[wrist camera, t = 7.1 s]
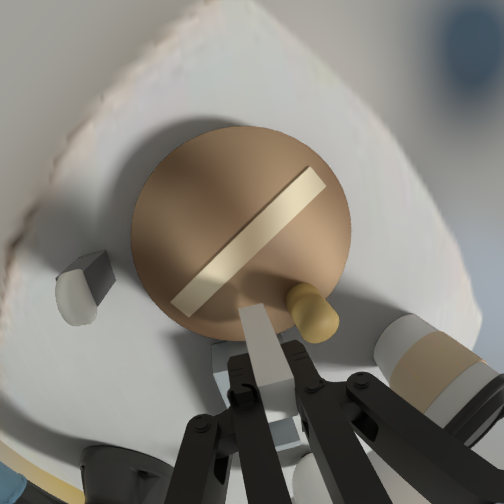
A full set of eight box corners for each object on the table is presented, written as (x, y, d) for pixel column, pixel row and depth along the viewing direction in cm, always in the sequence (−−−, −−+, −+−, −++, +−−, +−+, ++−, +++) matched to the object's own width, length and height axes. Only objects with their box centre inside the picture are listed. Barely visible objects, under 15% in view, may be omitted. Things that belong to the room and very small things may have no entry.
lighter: (92, 291, 19) (56, 338, 12) (77, 252, 17) (32, 289, 11) (117, 285, 19) (86, 334, 12) (103, 245, 18) (62, 282, 11)
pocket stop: (245, 433, 26) (249, 457, 23) (209, 339, 21) (210, 367, 18) (292, 421, 26) (300, 445, 23) (276, 323, 22) (287, 349, 18)
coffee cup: (368, 386, 27) (432, 483, 13) (357, 333, 24) (451, 453, 9) (429, 347, 27) (504, 423, 13) (429, 289, 24) (534, 369, 10)
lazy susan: (240, 355, 21) (250, 403, 16) (100, 240, 17) (65, 268, 12) (370, 236, 20) (414, 259, 15) (246, 88, 15) (261, 59, 10)
